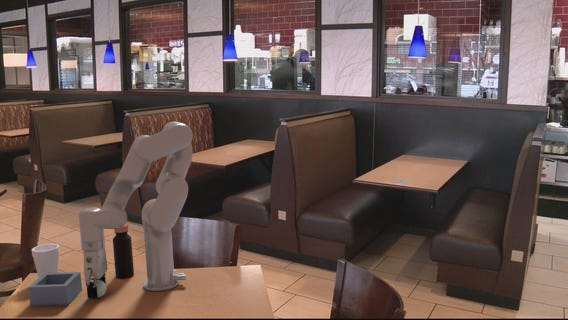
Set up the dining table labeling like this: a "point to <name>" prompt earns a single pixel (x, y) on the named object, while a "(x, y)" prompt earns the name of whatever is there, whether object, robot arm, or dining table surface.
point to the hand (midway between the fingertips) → (97, 292)
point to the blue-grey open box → (55, 289)
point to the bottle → (123, 253)
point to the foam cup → (46, 258)
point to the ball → (100, 288)
